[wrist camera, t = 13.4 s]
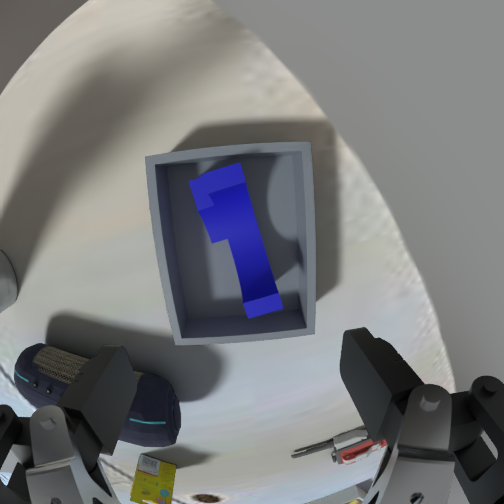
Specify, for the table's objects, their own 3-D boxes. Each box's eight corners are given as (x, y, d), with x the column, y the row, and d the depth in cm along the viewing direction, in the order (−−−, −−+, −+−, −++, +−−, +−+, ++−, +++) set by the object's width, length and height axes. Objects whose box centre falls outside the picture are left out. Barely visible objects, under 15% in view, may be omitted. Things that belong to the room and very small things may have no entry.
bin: (183, 321, 29) (175, 345, 25) (161, 160, 25) (145, 156, 20) (303, 311, 30) (314, 334, 25) (297, 148, 25) (310, 141, 20)
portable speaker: (186, 364, 31) (172, 422, 22) (186, 413, 34) (177, 466, 24) (33, 325, 29) (-4, 358, 20) (47, 374, 32) (20, 410, 22)
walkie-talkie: (394, 409, 37) (288, 448, 38) (403, 425, 33) (292, 467, 34) (392, 431, 39) (298, 466, 40) (400, 446, 35) (302, 483, 36)
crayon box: (138, 458, 38) (127, 502, 26) (140, 453, 37) (128, 499, 26) (173, 470, 39) (167, 515, 27) (177, 465, 38) (170, 512, 27)
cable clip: (194, 181, 25) (181, 181, 19) (239, 166, 25) (239, 162, 19) (232, 294, 28) (230, 323, 22) (274, 282, 28) (283, 308, 22)
